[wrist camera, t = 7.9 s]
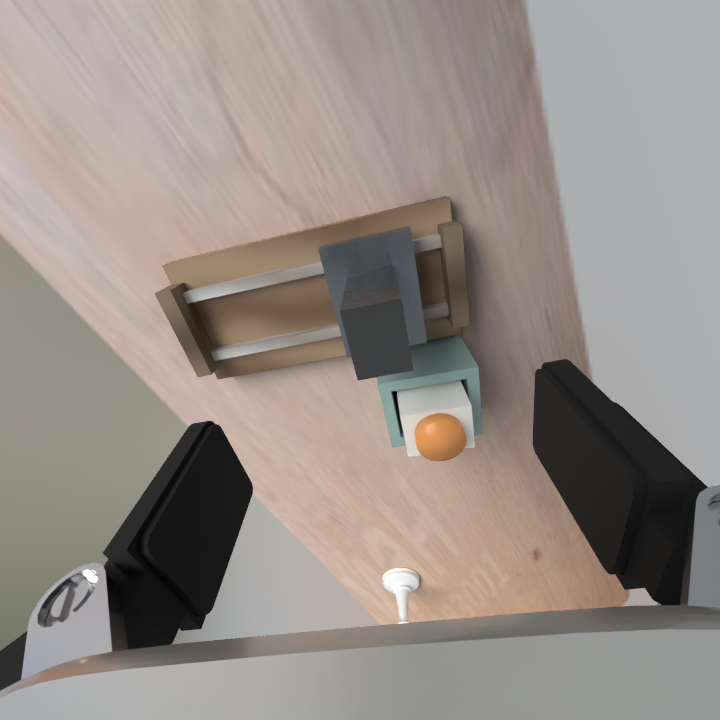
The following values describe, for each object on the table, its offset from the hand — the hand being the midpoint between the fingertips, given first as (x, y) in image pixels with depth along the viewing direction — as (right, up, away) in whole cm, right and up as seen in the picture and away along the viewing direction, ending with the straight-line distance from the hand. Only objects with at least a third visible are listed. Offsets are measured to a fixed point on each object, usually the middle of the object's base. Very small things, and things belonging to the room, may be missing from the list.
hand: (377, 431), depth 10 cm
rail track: (-4, +7, +17) cm, 19 cm away
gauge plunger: (+5, 0, +18) cm, 19 cm away
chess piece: (+5, -27, +36) cm, 45 cm away
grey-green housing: (+5, +1, +20) cm, 21 cm away
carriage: (+1, +7, +14) cm, 16 cm away
